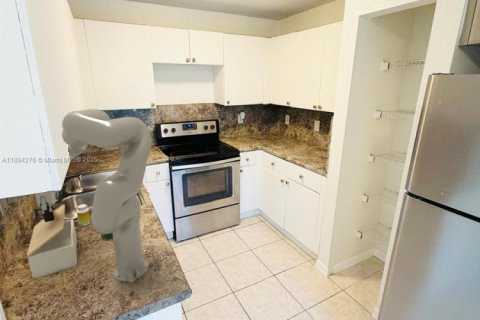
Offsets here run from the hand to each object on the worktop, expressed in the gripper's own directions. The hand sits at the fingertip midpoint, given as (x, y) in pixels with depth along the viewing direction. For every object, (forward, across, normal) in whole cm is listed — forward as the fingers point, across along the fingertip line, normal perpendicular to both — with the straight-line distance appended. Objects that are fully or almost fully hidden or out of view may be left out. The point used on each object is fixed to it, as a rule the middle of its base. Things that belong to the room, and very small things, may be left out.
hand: (50, 218), depth 104 cm
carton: (+17, 0, 0) cm, 17 cm away
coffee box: (+17, +18, +3) cm, 25 cm away
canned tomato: (+18, +6, -20) cm, 28 cm away
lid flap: (+4, 0, +1) cm, 4 cm away
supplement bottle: (+18, +24, -10) cm, 32 cm away
